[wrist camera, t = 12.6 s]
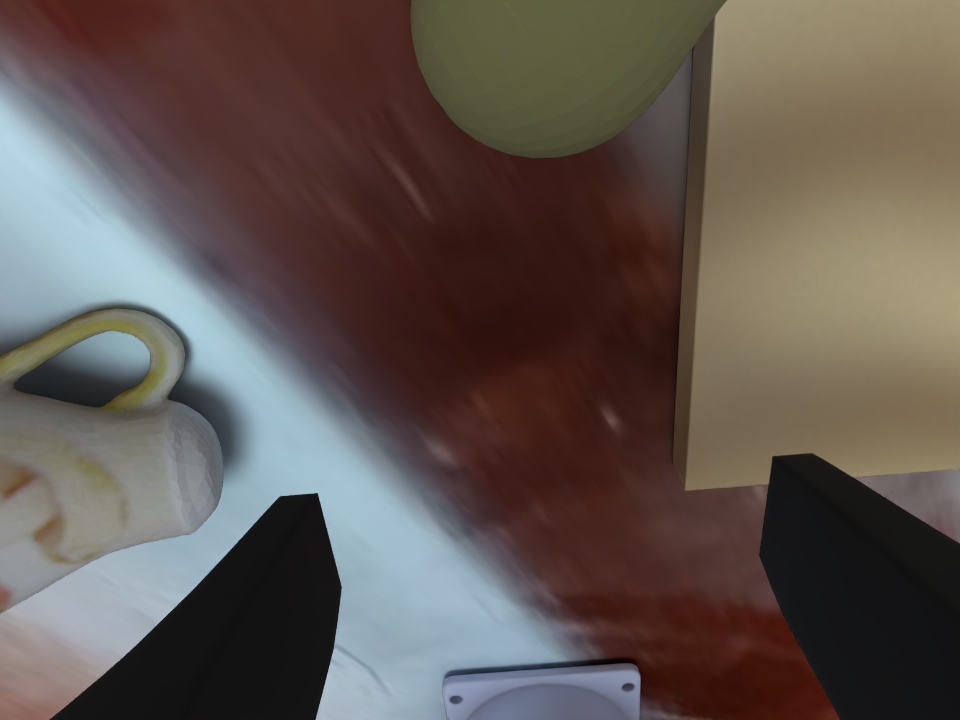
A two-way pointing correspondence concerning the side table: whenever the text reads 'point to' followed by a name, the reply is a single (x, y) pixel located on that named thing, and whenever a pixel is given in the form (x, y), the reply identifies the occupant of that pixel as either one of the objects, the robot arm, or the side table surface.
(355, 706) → the side table surface
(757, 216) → the maple board
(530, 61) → the light bulb
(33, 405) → the mug
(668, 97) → the side table surface
